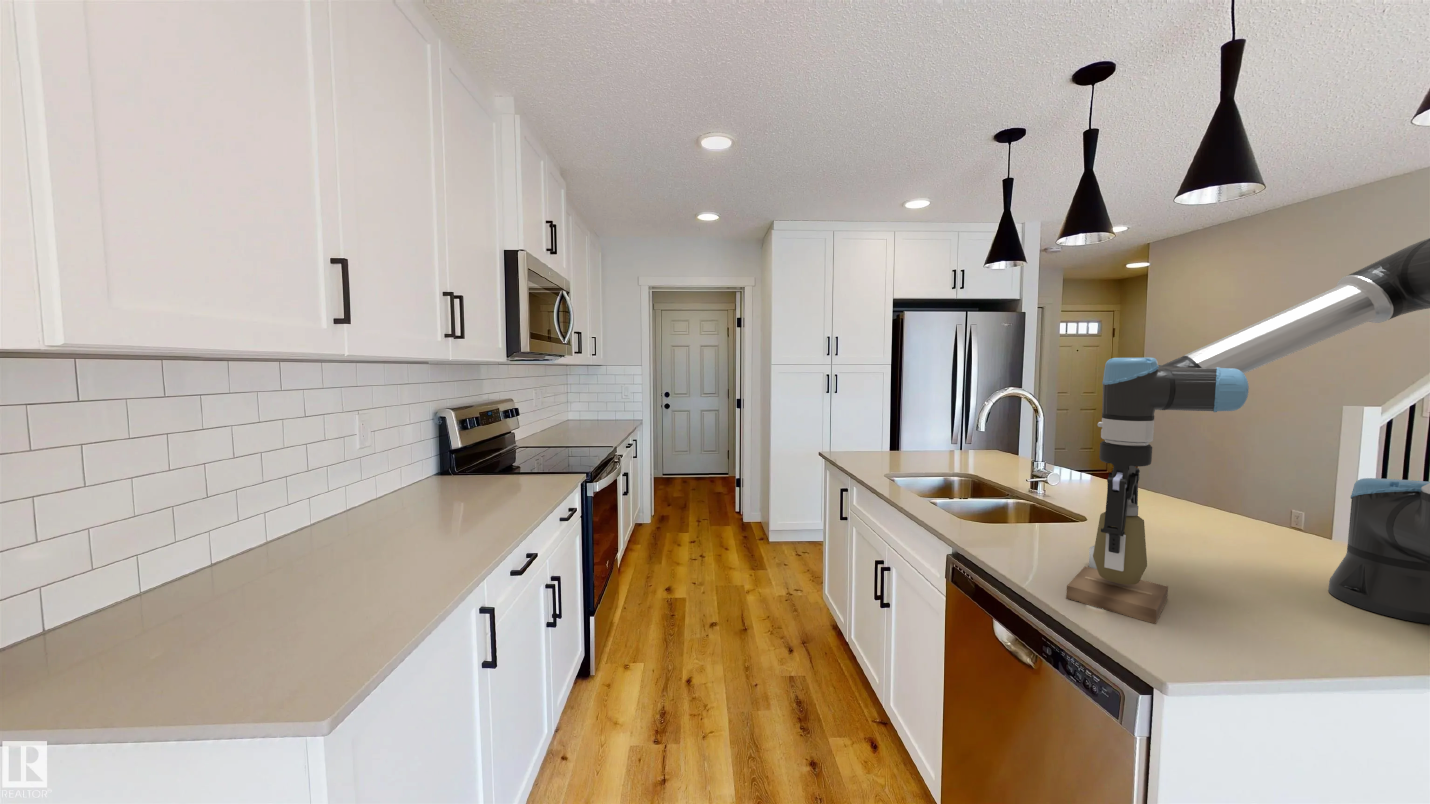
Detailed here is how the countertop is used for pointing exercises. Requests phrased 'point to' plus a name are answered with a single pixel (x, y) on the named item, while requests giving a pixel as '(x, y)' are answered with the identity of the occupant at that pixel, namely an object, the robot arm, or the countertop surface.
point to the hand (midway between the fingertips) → (1119, 561)
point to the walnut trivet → (1118, 595)
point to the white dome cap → (1091, 558)
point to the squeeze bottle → (1133, 549)
